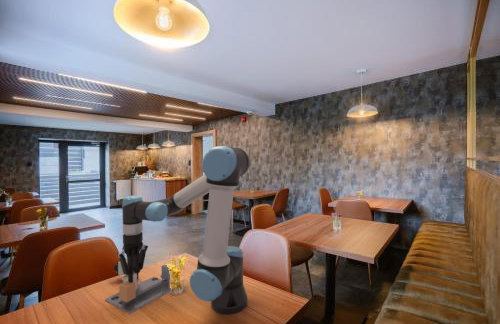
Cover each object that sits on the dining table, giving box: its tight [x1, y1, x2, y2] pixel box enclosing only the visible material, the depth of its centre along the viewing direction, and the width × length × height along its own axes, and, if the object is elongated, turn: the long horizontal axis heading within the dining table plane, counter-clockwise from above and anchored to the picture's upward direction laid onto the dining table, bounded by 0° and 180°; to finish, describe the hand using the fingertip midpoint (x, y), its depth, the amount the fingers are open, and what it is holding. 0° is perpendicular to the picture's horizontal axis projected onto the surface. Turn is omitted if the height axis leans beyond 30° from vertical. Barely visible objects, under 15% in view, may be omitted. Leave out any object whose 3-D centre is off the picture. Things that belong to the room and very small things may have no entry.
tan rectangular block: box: [118, 281, 136, 303], centre depth 102 cm, size 6×4×8 cm, turn 58°
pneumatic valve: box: [113, 258, 142, 283], centre depth 122 cm, size 6×12×12 cm, turn 89°
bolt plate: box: [104, 276, 172, 315], centre depth 111 cm, size 18×24×1 cm
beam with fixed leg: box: [122, 264, 171, 307], centre depth 110 cm, size 6×22×8 cm, turn 148°
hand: (133, 288), depth 104 cm, fingers closed
